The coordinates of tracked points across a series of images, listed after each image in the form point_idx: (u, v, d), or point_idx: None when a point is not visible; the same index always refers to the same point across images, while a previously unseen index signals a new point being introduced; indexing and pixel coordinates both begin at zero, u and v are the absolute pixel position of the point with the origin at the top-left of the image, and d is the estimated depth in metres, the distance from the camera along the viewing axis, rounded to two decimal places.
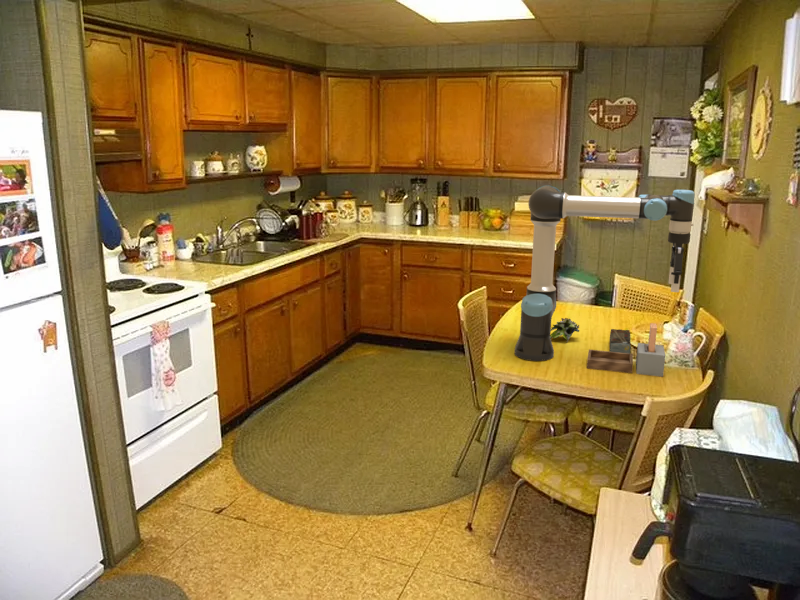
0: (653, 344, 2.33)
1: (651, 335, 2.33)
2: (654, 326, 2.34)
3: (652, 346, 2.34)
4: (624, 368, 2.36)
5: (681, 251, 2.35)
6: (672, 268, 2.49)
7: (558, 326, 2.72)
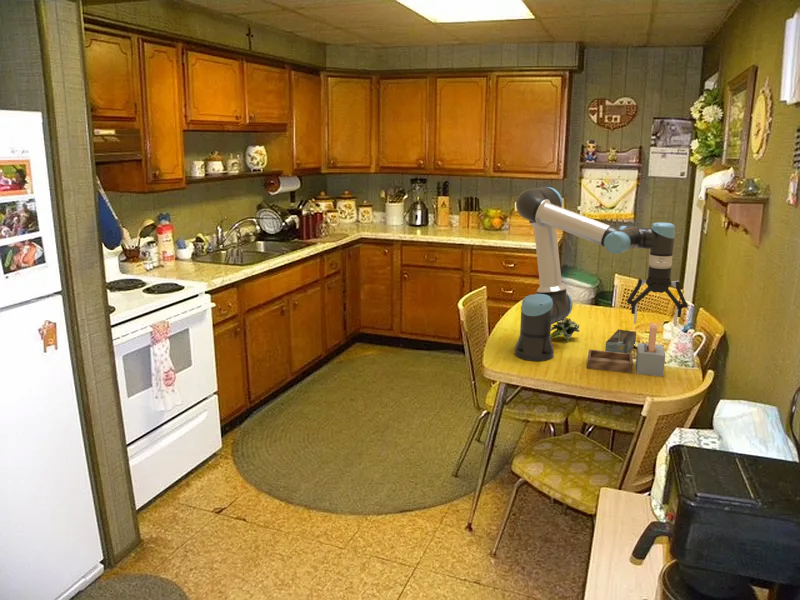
0: (653, 344, 2.33)
1: (651, 335, 2.33)
2: (654, 326, 2.34)
3: (652, 346, 2.34)
4: (624, 368, 2.36)
5: (638, 282, 2.32)
6: (675, 308, 2.31)
7: (558, 326, 2.72)
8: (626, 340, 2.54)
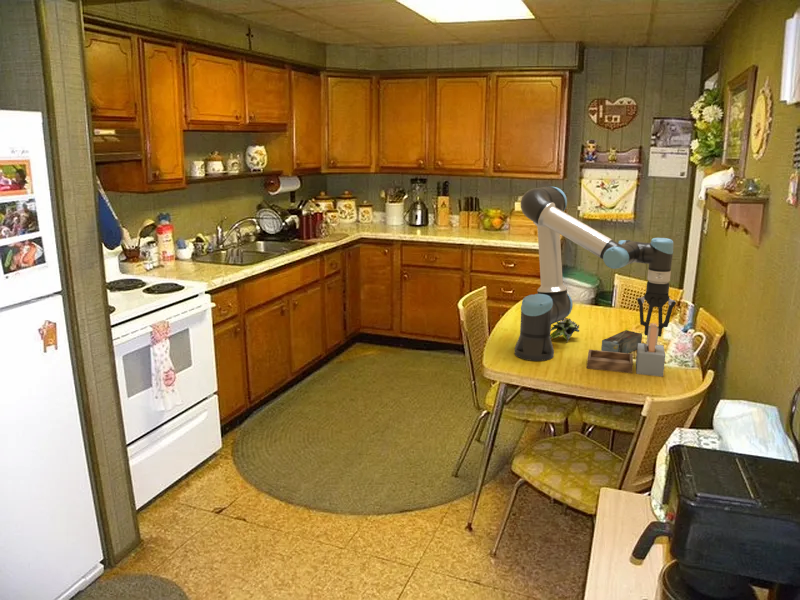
0: (653, 344, 2.33)
1: (651, 335, 2.33)
2: (654, 326, 2.34)
3: (652, 346, 2.34)
4: (624, 368, 2.36)
5: (638, 302, 2.34)
6: None
7: (558, 326, 2.72)
8: (624, 340, 2.54)
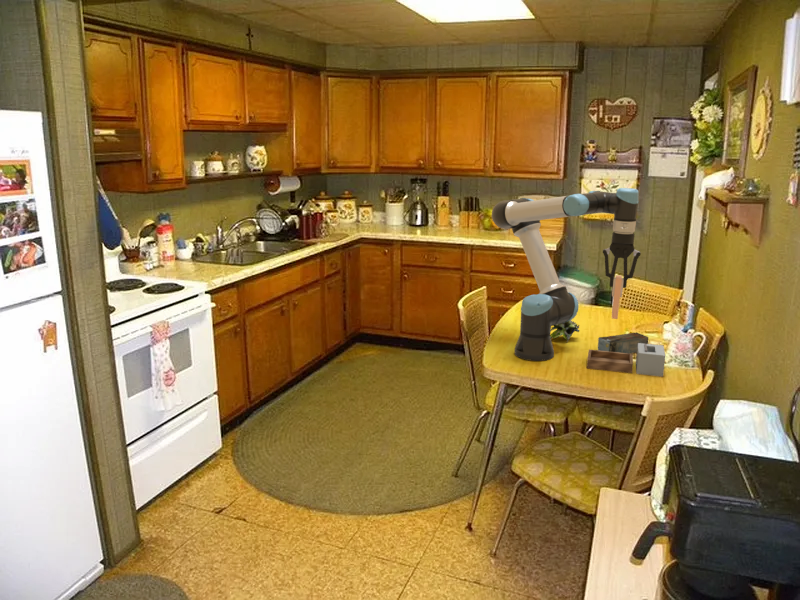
0: (618, 295, 2.34)
1: (616, 286, 2.33)
2: (619, 277, 2.34)
3: (617, 297, 2.34)
4: (624, 368, 2.36)
5: (603, 253, 2.34)
6: None
7: (558, 326, 2.72)
8: (619, 340, 2.54)
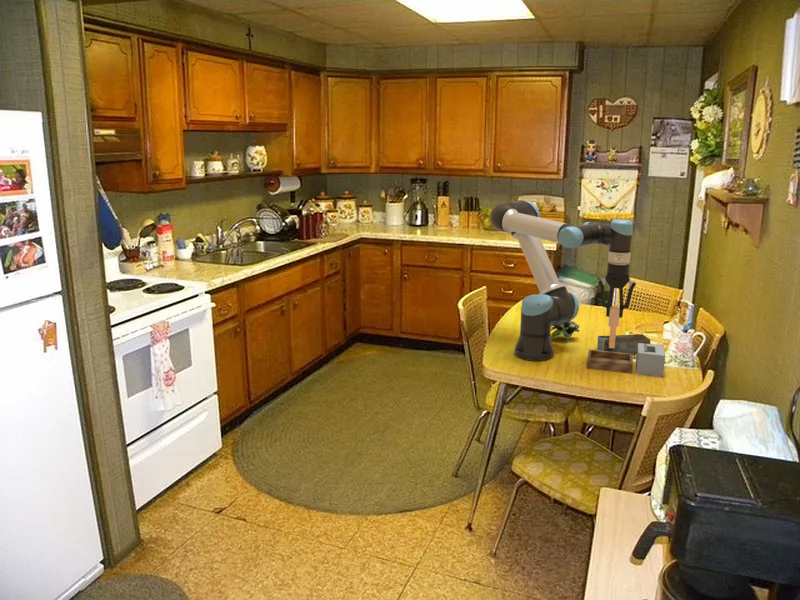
0: (614, 325, 2.36)
1: (612, 316, 2.36)
2: (615, 307, 2.37)
3: (614, 327, 2.36)
4: (624, 368, 2.36)
5: (599, 283, 2.37)
6: None
7: (558, 326, 2.72)
8: (617, 340, 2.55)
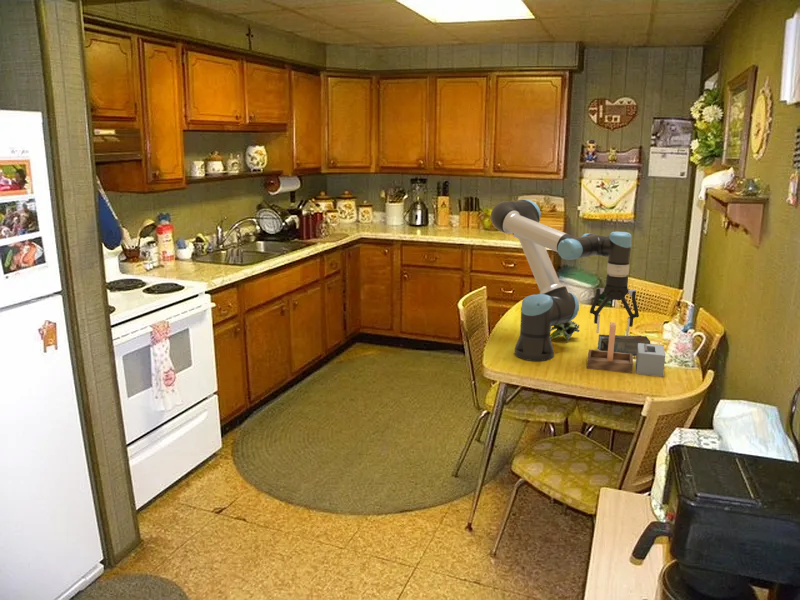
0: (612, 343, 2.38)
1: (610, 334, 2.37)
2: (613, 325, 2.39)
3: (611, 344, 2.38)
4: (624, 368, 2.36)
5: None
6: None
7: (558, 326, 2.72)
8: None
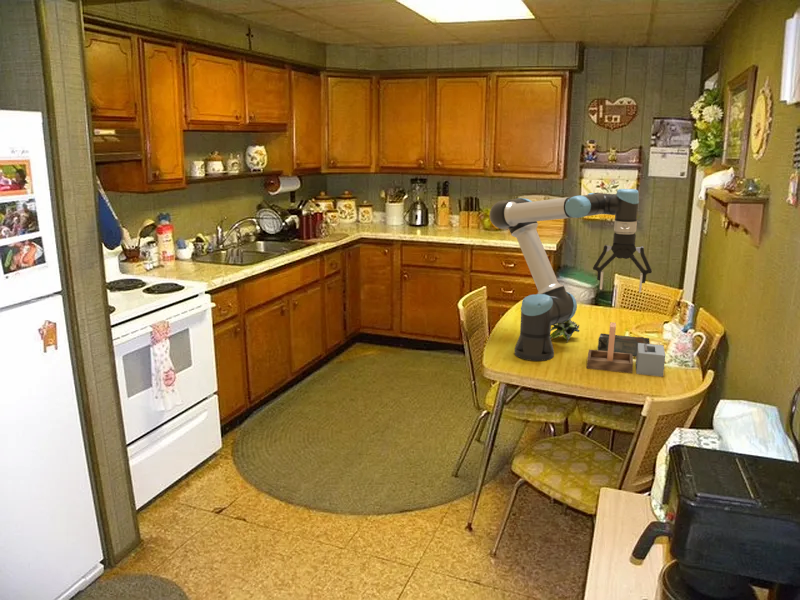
0: (612, 343, 2.38)
1: (610, 334, 2.37)
2: (613, 325, 2.39)
3: (611, 344, 2.38)
4: (624, 368, 2.36)
5: None
6: (640, 274, 2.33)
7: (558, 326, 2.72)
8: None
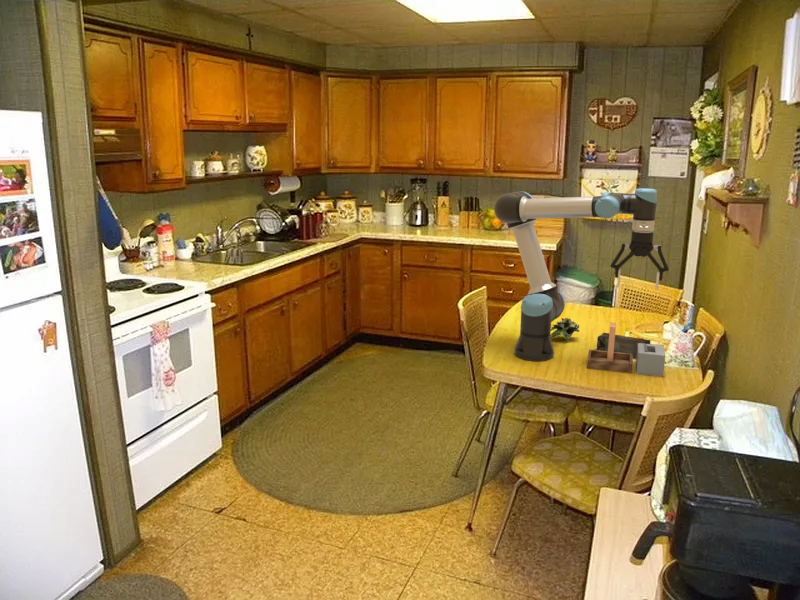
0: (612, 343, 2.38)
1: (610, 334, 2.37)
2: (613, 325, 2.39)
3: (611, 344, 2.38)
4: (624, 368, 2.36)
5: (621, 246, 2.40)
6: (657, 272, 2.39)
7: (558, 326, 2.72)
8: None
